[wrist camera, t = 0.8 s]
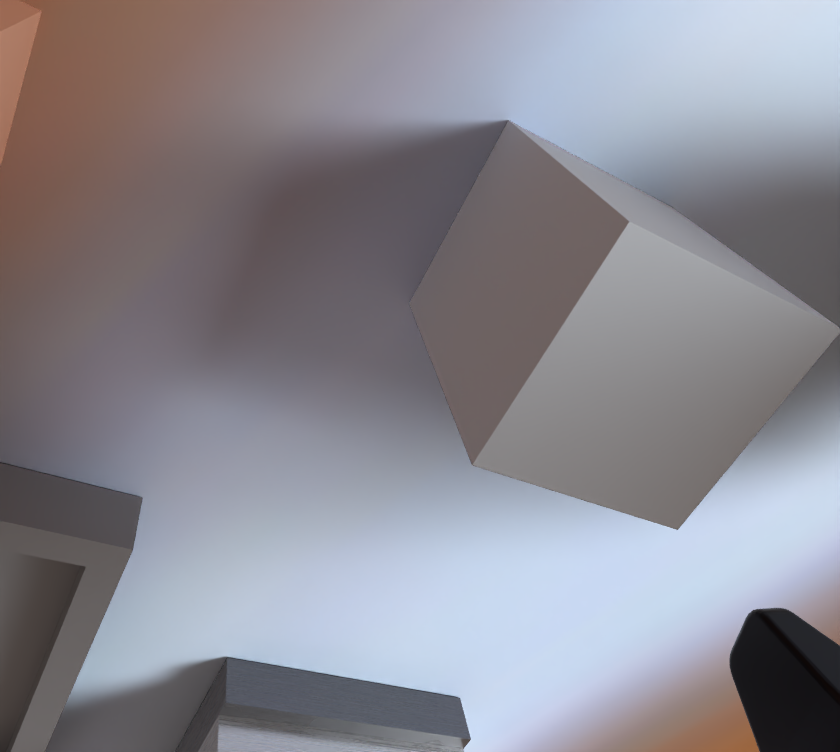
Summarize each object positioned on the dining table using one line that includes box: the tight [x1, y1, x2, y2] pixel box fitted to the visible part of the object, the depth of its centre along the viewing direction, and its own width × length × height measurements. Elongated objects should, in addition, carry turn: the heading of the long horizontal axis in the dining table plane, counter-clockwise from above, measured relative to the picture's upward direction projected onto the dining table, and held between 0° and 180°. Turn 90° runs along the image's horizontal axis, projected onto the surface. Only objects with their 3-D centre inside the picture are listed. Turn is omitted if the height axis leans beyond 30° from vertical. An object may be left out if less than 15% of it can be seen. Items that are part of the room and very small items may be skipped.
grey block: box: [409, 120, 840, 530], centre depth 15 cm, size 4×4×6 cm
